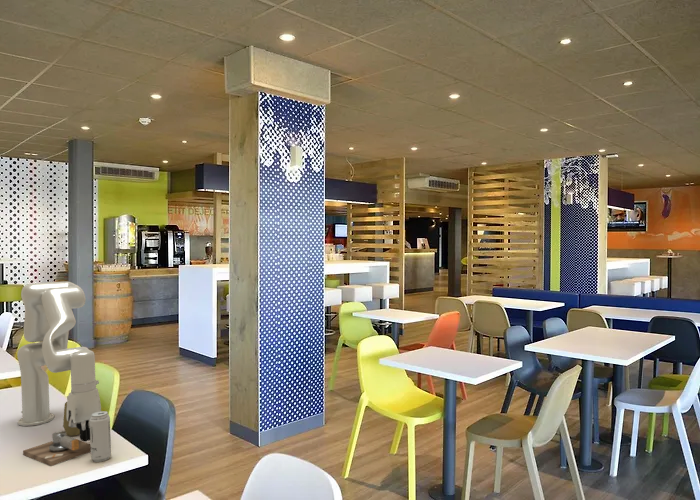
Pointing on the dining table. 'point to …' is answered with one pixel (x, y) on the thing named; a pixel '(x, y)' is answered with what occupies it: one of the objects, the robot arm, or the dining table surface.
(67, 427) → the squeeze bottle
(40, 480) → the dining table surface
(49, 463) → the walnut stand
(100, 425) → the energy drink can
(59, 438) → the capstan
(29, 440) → the dining table surface
